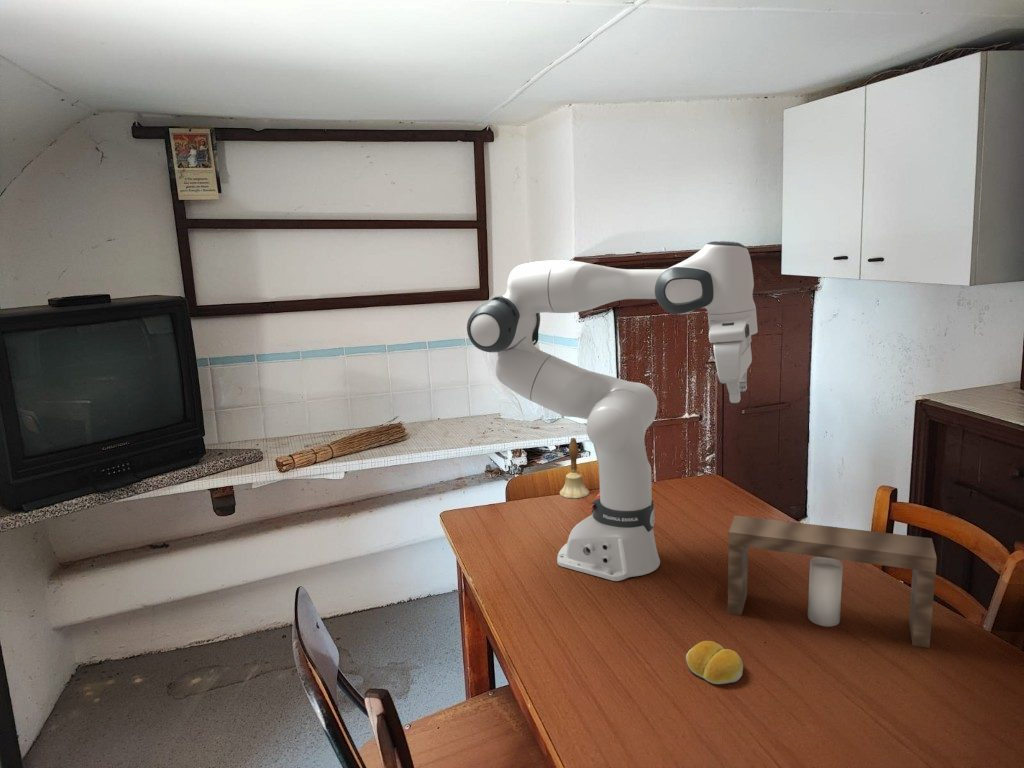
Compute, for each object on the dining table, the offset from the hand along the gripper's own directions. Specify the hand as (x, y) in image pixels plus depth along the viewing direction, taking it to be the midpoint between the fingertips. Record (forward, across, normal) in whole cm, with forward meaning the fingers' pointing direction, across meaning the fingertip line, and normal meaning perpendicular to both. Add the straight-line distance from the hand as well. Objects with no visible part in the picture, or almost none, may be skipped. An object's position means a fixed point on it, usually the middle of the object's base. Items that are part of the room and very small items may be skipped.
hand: (738, 396), depth 137 cm
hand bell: (+34, -36, -52) cm, 71 cm away
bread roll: (+39, +32, -3) cm, 51 cm away
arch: (+40, +10, +13) cm, 43 cm away
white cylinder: (+40, +10, +13) cm, 43 cm away
